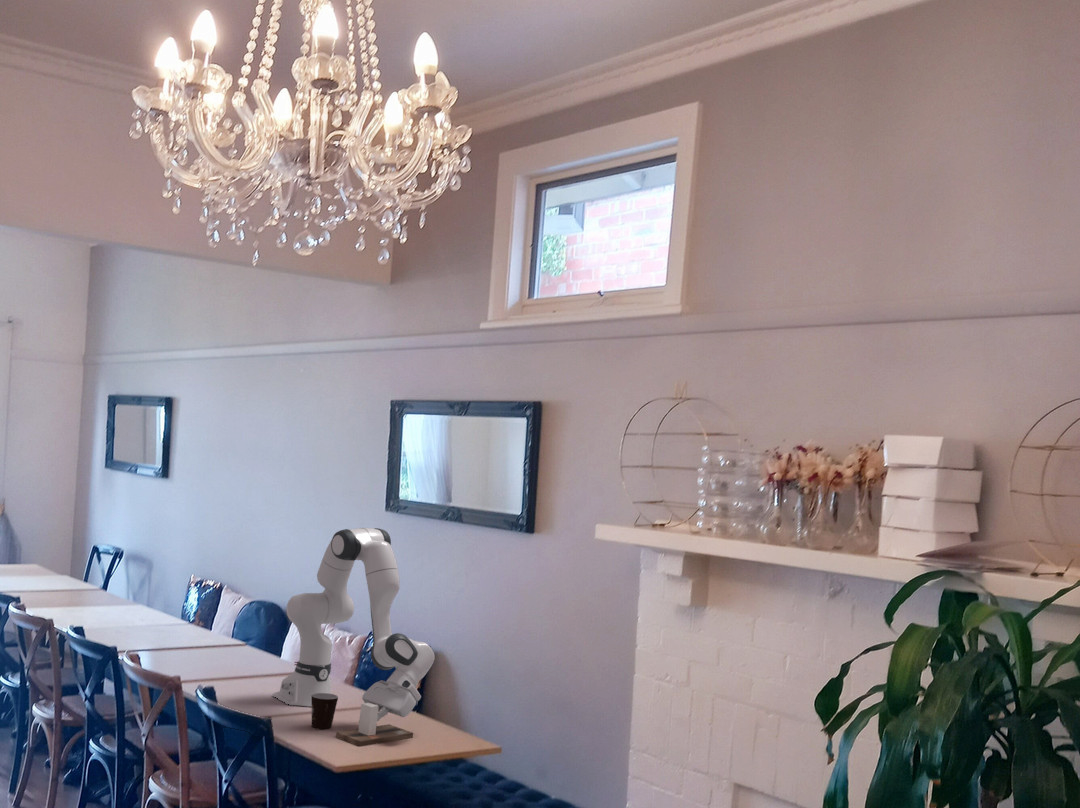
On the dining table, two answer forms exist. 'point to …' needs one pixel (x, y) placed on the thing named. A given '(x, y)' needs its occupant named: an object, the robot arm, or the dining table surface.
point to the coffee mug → (323, 710)
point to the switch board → (382, 735)
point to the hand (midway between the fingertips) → (373, 719)
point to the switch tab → (368, 718)
